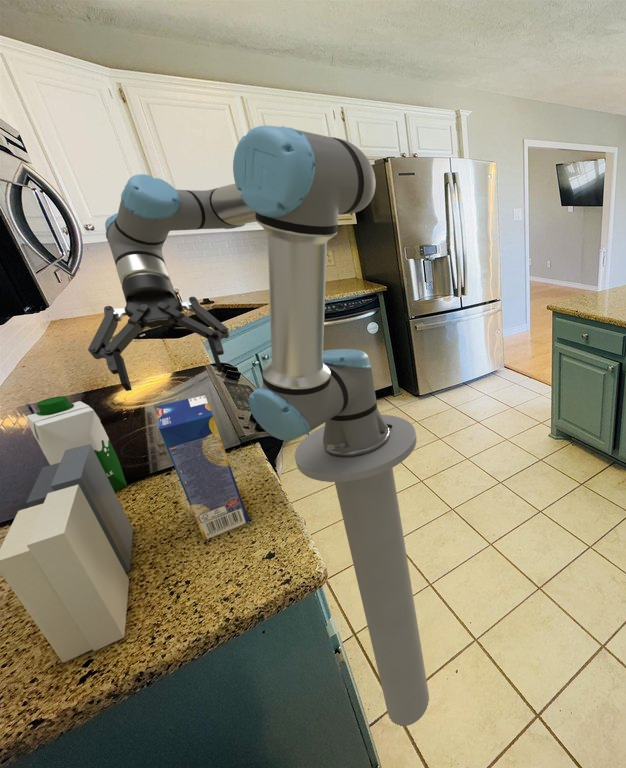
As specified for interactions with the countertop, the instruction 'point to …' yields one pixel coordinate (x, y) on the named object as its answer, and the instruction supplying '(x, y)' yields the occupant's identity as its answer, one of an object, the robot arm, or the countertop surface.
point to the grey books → (89, 496)
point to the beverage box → (202, 465)
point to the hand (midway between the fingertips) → (175, 377)
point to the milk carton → (74, 434)
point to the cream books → (66, 574)
